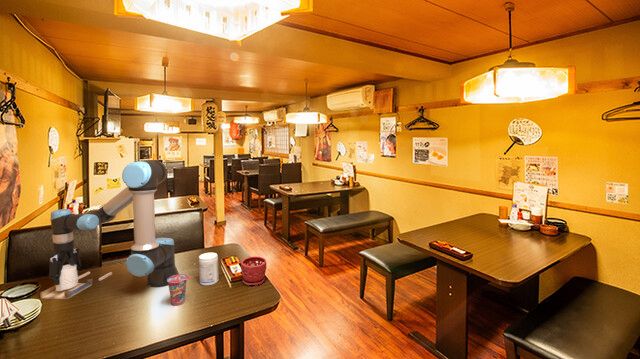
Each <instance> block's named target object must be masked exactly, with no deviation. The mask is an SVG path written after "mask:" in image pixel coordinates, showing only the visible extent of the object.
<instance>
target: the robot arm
mask: <svg viewBox="0 0 640 359" xmlns="http://www.w3.org/2000/svg"><path fill="white" fill-rule="evenodd" d="M121 174H122V175H121V179H122V182H123V183H124V184H125V186H126V187H125V188H124V189H122V190H121V191H119V192H118V193H117V194H116V195H115V196H113V197H112V198H111V199H110V200H109V201H107V202H106V203H105V204H104V205H102V206H101V207H100V208H99V209H95V210H92V211H89V212H84V213H78V214H77V213H72V209H69V208H62V209H56V210H52V211H51V213H50V226H51V235H52V236H51V238H52V243H53V244H52V247H53V248H52V249H53V251H54V252H55V253H54V256H53V257H49V258H48V262H49V268H48V269H49V270H48V271H49V272H48V279H51V280H52V279H53V282H54V286H55V285H56V291H62V290H63V284H62V277H60V275H61V270H62V268H63V265H64V264H65V263H66V261H67V262H68V264H70V265H71V266H74V265H76V267H77V280H76V283H79V280H78V277H79V270H80V269H81V267H82V261H81V257H80V248H75V240H74V239H75V238H74V231H93V230H95V229H96V228H97V227H98V226H100V225H102V224H105V223H109V222H111V221H113V220H115V218H117V215H118V214H119V213H120V212H122V211H123V210H125V209H126V208H127V207H128V206H129V205H131V204H132V209H133V210H132V212H133V234H134V235H133V237H134V243H133V245H131V247H130V254H131V255H129V256H128V257H127V259H126V261H125V268H126V269H127V271H128V272H129V273H131V275H133V276H135V277H139V278H140V277H145V276H147V278H146V285H148V286H149V287H151V288H152V287H153V288H160V287H166V286H169V285H168V281H167V279H168V278H169V277H171V276H173V275H177V274H180V272H179V271H178V268H177V266H176V260H175V259H176V257H175V255H176V254H175V242H174V241H175V240H174V239H173V238H171V237H156V224H155V223H156V220H155V219H156V216H155V214H156V213H155V193H156V191H158V185H160V184H162V182H164V181H165V180H166V178H167V176H168V170H167V167H166V165H165V164H163V163H162V162H161V161H158V160H141V161H140V160H139V161H133V162H130V163H129V164H127V165H126V166H125V167H124V169H123V170H122V173H121Z"/></svg>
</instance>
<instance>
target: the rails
mask: <svg viewBox="0 0 640 359" xmlns="http://www.w3.org/2000/svg"><path fill="white" fill-rule="evenodd" d="M90 274H91V271H87V272H85V273H83V274H81V275H78V281H79V280H80V279H83V278H85V277H87V276H88V275H90ZM111 275H113V272H112V271H110V272H108V273H106V274H104V275H103V276H100V277H99V278H98V281H99V282H100V281H102V280H105V279H106V278H108V277H110V276H111Z"/></svg>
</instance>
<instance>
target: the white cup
mask: <svg viewBox="0 0 640 359" xmlns="http://www.w3.org/2000/svg"><path fill="white" fill-rule="evenodd" d="M60 277H62V284H63V290H66V289H70V288H73V287H75V286H76V280H77V267H76V265H74V266H71V265H70V264H69V263H68V264H65V265H64V264H63V268H62V270H61V275H60Z"/></svg>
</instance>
